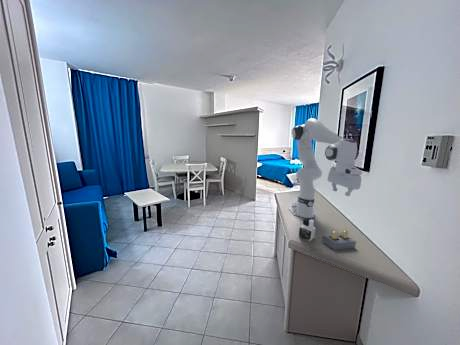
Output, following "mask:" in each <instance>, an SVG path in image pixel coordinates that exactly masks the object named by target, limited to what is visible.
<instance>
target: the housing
mask: <svg viewBox="0 0 460 345" xmlns="http://www.w3.org/2000/svg"><path fill="white" fill-rule="evenodd" d="M331 234H332V233H327V234H322V240H321V241H322V242H323V243H324V244H325V245H327V246H328V247H330V248H331V249H332V250H334V251H335V250H345V249H355V248H356V244H357V241H356V240H355V239H353V238H351V237H350V236H348V238H347V239H346V240H344V239H342V238H341V235H342V232H340V233H339V232H338V237H337V240H332V239H331Z"/></svg>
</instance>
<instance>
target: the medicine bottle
mask: <svg viewBox="0 0 460 345" xmlns="http://www.w3.org/2000/svg"><path fill="white" fill-rule="evenodd" d="M314 222H315V221H314V219H312V218H305V217H304V218H303V221H302V225H301V226H299V231H298V232H299V233H298V238H300V239H303V240H305V241H307V242H311V241H312V240H313V239H314V238H315V234H316V226H314V225H315V224H314Z"/></svg>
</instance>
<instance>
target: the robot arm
mask: <svg viewBox="0 0 460 345" xmlns="http://www.w3.org/2000/svg"><path fill="white" fill-rule="evenodd" d="M291 137H292V139H293V140H296V141H297V142H296V145H297V152H298V153H297V154H298V159H299V161H300V163H301V164H302V166H303V167H302V168H299V169H298V170H297V171H296V173H295V175H296V179H297V180H298V183H299V194H298V195H299V196H297V200H296V201H294V202H292V203H291V207H288V210H289V211H290V212H291V214H292V215H294V216H296V217H301V218H304V219H305V218H310V219H312V218H314V217H315V215H316V212H315V192H316V188H315V187H314V184H313V183H314V181H316V180H319V178H321V177H322V175H323V171H322V169H321V168H320V167H319V165H318V163H317V161H316V159H315V153H314V148H313V143H312V141H315V142H318V143H325V144H329V145H328V146H326V148H325V151H324V156H325V158H326V159H327V160H328V161H332V162H335V166H332V167H330V168H329V169H330V170H329V171H328V176H327V181H328V182H329V183H331V186H332V191H333V192H337V191H338V188H337V186H341V187H344V188H347V191H345V196H346V197H350V196H351V193H352V192H353V191H354V190H355V191H356V190H357V191H358V190H359V189H360V188H361V184H362V174H363V170H361V169H359V168H357V167H356V166H355V164H356V162H355V161H356V160H357V159H358V157H359V156H360V155H359V154H360V150H359V149H358V143H357V141H356V140H355V139H351V138H343V137H342V136H340V135H339V134H337V133H335V132H334V131H332V130H331V129H329V127H327V126H325V125H324V124H323V123H322V122H321V121H320V120H318V119H317V118H309V119H307V120H306V121H305V123H304V124H302V125H300V124H299V125H296V126H294V127H293V128H292V129H291Z"/></svg>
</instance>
